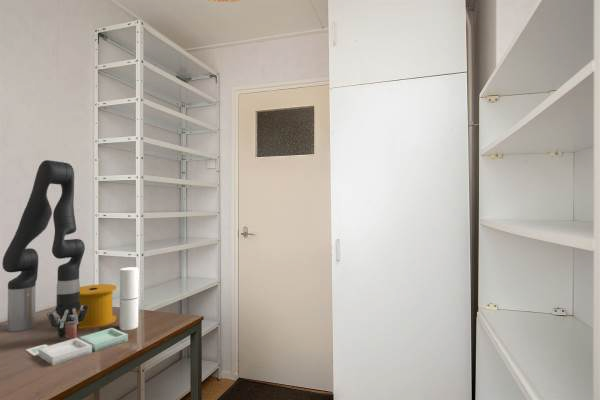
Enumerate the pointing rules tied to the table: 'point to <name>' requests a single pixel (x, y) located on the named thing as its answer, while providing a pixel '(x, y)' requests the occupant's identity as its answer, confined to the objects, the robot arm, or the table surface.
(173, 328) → the table surface
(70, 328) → the lighter
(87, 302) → the spool
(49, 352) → the white tray
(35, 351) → the card
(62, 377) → the table surface
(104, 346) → the green tray
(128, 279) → the cylindrical container
